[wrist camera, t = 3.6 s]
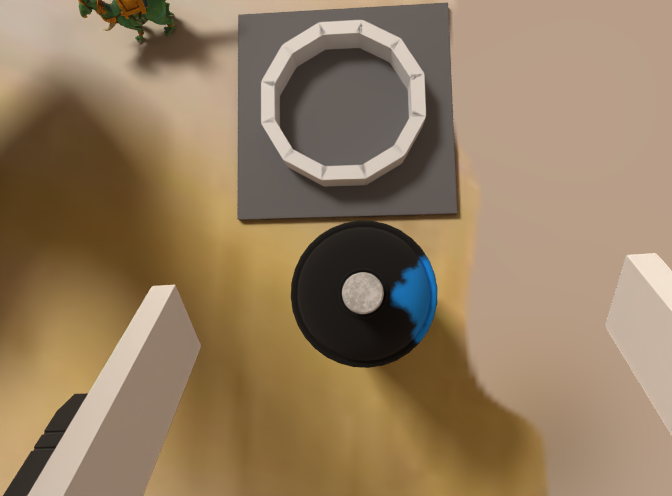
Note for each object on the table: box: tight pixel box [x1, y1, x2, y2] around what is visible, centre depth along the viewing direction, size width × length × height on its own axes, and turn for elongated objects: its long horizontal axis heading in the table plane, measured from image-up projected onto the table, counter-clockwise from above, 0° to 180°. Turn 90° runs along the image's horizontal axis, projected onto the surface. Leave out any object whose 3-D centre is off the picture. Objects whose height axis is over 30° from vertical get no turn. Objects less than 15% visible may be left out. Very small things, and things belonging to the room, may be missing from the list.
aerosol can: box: [291, 221, 437, 368], centre depth 31 cm, size 8×8×20 cm
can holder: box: [238, 3, 457, 220], centre depth 41 cm, size 20×20×3 cm
